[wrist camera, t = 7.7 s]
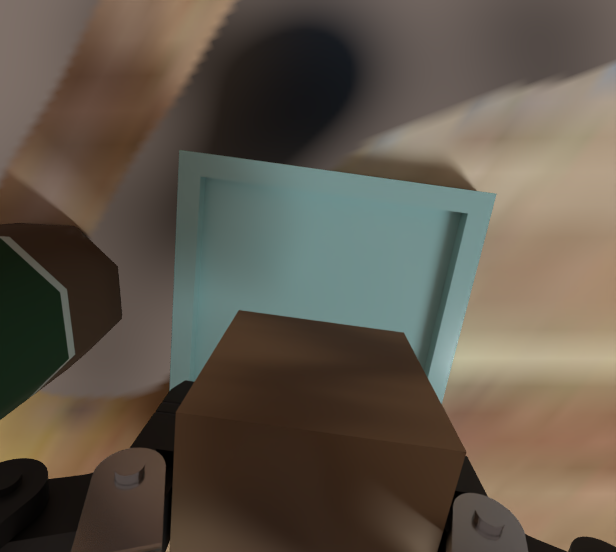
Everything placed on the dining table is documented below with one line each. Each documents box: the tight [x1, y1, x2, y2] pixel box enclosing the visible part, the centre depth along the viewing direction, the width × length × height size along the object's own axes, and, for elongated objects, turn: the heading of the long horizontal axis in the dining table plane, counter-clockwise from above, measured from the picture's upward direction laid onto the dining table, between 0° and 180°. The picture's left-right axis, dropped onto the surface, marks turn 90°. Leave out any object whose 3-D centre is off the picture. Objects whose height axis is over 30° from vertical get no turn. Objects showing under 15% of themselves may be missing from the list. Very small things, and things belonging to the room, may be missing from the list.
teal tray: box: [169, 150, 496, 404], centre depth 19 cm, size 14×14×2 cm
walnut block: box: [170, 310, 466, 552], centre depth 9 cm, size 5×5×5 cm
